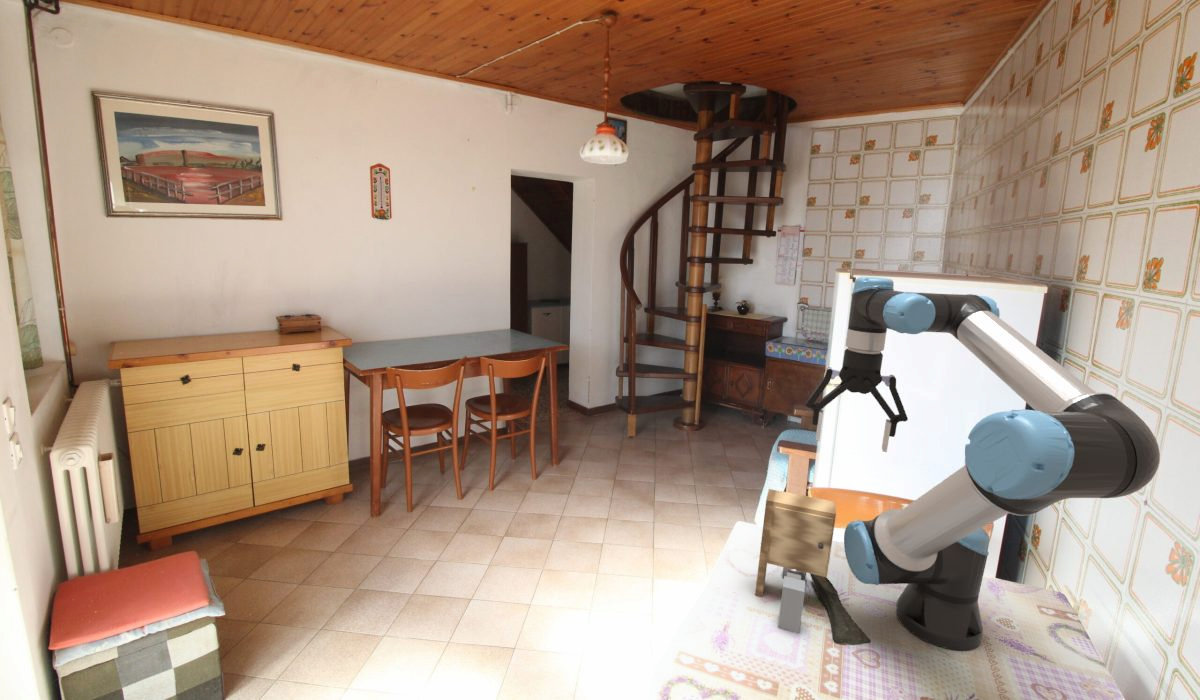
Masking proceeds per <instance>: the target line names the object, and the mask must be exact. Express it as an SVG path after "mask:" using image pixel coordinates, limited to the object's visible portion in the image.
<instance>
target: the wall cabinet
mask: <svg viewBox="0 0 1200 700" xmlns="http://www.w3.org/2000/svg"><path fill="white" fill-rule="evenodd" d="M767 491H768V492H767V496H766V500H765V508H764V516H763V523H762V531H761V543H760V550H759V557H758V558H759V560H758V567H757V576H756V585H755V593H754V596H758V597H762V598H763V594H764V588H765V583H766V577H767V576H766V575H767V569H768V564H769V565H774V566H776V567H781V568H783V567H785V568H789V569H793V570H798V571H802V572H806V574H814V575H819V576H823V577H826V578H828V571H829V565H830V559H831V558H830V557H831V553H832V552H831V550H832V544H833V537H834V531H835V523H836V516H837V509H836V508H837V507H836V506H837V505H836V501H832V500H827V499H824V498H823V499H821V498H818V497H817V498H816V497H811V496H807V495H801V494H797V493H793V492H787V491H782V490H777V489H770V488H768V490H767Z"/></svg>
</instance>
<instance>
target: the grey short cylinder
mask: <svg viewBox="0 0 1200 700" xmlns="http://www.w3.org/2000/svg"><path fill="white" fill-rule="evenodd" d="M787 572H789V573H793V574H797V575H801V580H803V581H805V582H806V577H807V573H806V572H802V571H798V570H793V569H789V568H785V567H782V574H781V577H782V579H783V580H784V576H787Z"/></svg>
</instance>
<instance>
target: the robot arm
mask: <svg viewBox="0 0 1200 700" xmlns="http://www.w3.org/2000/svg"><path fill="white" fill-rule="evenodd" d="M894 286H895V285H894V281H893V279H891V278H888V277H887V278H886V277H876V276H858V277H857V278H856V279H855V280H854V285H853V289H852V293H851V299H850V300H851V302H850V309H849V316H848V327H847V332H846V339H845V347H846V349H845V350H844V352H843V353H844V354H843V359H842V360H843V361H842V367H841V369H840V370H839V369H834V368H833V367H831V366H828V367H827V368H826V370H825V375H824V377H823V378H822V379H821V381H820V382H819V384H817V386H816V388H815V389H814V390H813V392H812V393H811V394H810V396H809V397H808V398H807V400H806V403H805V406H806V407H807V408H809V409H811V410H812V411H813V413H812V421H811V422H812V425H813V426H817V427H816V432H815V433H816V434H815V441H817V442H820V437H821V431H822V423H823V415H824V410H823V409H824V408H825V407H826V406H827V405H828V404H829V403H831V402H832V401H834V400H835V399H836V398H837V397H839V396H840V395H841V394H843V393H844V392H846V391H848V392H850V393H854V394H855V393H859V394H861V395H862V394H863V395H866V394H869V393H870V394H871V395H872V396H873V398H874V399H875V400H876V401H877V403H878V404H879V406H880V407H881V408H882V410H883V411H884V413H885V414H886V416H887V417H888V418H889V419H887V418H885V425H884V432H883V438H882V445H881V450H882V452H885V453H887V452H888V446H889V440H890V437H892V438H894V437H895V436H896V434H897V433H896V431H897V425H898V423H899V422H907V421H908V420H909V418H908V415H907V413H906V411H905V408H904V405H903V402H902V400H901V397H900V394H899V391H898V389H897V378H896V376H895V375H894V374H890V375H881V370H882V364H883V357H884V354H883V353H882V352H883V351H884V350H885V345H886V338H887V331H888V330H892V331H894V332H897V333H899V334H908V335H918V334H921V333H942V334H943V333H944V334H950V335H952V336H953V337H954V339H957V341H958V342H960V343H961V344H962V345H963V346H964V347H965V348H966V349H967V350H968V351H969V352H971V353H972V354H973V355H974V356H975V357H976V358H977V359H978V360H979V361H980V362H981V363H983V364H984V365H985V366H986V367H987V368H988V369H989V370H990V371H992V372H993V373H994V374H995V376H997V377H998V378H999V379H1000V380H1001V381H1002V382H1004V383H1005V384H1006V385H1007V386H1008V387H1009V388H1010V389H1011V390H1012V391H1013V392H1014V393H1015V394H1016V395H1018V397H1020V398H1021V399H1022V400H1023V401H1024V402H1025V403H1026V404H1027V405H1028V406H1029V407H1031V408H1032V409H1018V410H1017V409H1011V410H1009V411H1007V410H1006V411H1005V410H1004V411H999V412H995V413H991V414H989V415H987V416H985V417H983V418H982V419H980V420H979V421H978V422H977V423H976V424H975V425H974V426H973V427H972V429H971V430H970V432H969V434H968V436H967V438H968V440H969V443H966V444H965V446H964V465H963V466H962V467H960V468H959V469H958V470H956V471H955V472H952V474H950V475H949V476H948V477H946V478H944V480H942V481H941V482H939V483H938V484H936V485H935V486H933V487H932V488H931V489H929V490H928V491H926V492H925V493H924V494H922V495H921V496H919V497H918V498H917V499H915V500H914V501H912V502H911V503H909V504H908V505H907V506H905V507H904V508H890V509H887V510H885V511H884V510H883V512H881V513H879V514H878V515H877V516H875V517H874V518H873V519H870V520H862V519H858V520H853V521H850V522H849V523H848V524H847V525H846V527H845V530H844V535H843V547H844V553H845V557H846V561H847V564H848V566H849V568H850V570H851V573H852V575H853V576H854V577H855V578H856V580H857V581H859V582H860V583H862V584H867V585H868V584H869V585H874V586H879V585H897V584H899V585H900V584H902V585H904V584H907V585H906V586H905V588H904V589H903V591H902V593H901V594H900V595H899V597H898V599H897V601H896V608H895V615H896V618H897V620H898V621H899V622H900V624H901V625H902V626H903V627H904V628H905V629H906V630H907V631H909V632H910V633H912V634H913V635H914V636H915V637H918V638H919V639H921V640H924V641H925V642H927V643H930V644H932V645H935V646H938V647H941V648H945V649H949V650H956V651H968V650H972V649H975V648H977V647H979V646H980V644H981V642H982V638H983V633H984V632H983V630H984V629H983V623H982V617H981V612H980V608H979V607H980V606H979V602H978V601H979V596H980V591H981V586H982V582H983V579H984V578H983V577H984V573H985V570H986V565H987V559H988V556H989V546H990V545H989V543H990V536H989V534H988V533H987V531H986V530H985V529H984V528H985V527H986V526H988V525H990V524H992V523H994V522H995V521H998V520H999V519H1001V518H1003V517H1005V516H1006V515H1009V514H1011V515H1014V516H1031V515H1034V514H1036V513H1038V512H1040V511H1042V510H1044V509H1046V508H1048V507H1050V506H1052V505H1054V504H1055V503H1056V504H1057V502H1060V501H1063V500H1069V499H1115V498H1122V497H1126V496H1129V495H1132V494H1133V493H1136V492H1138V491H1140V490H1141V489H1143V488H1144V487H1146V486H1147V485H1148V484H1149V483H1150V482H1151V481H1152V480H1153V478H1154V477H1155V475H1156V473H1157V471H1158V468H1159V466H1160V459H1161V457H1160V456H1161V453H1160V448H1159V444H1158V441H1157V438H1156V436H1155V435H1154V433H1153V431H1152V430H1151V429H1150V427H1149V426H1148V425H1147V423H1146V422H1145V421H1144V420H1143V419H1142V418H1141V417H1140V416H1139V415H1138V414H1137V413H1136V412H1134V410H1132V409H1131V408H1130V407H1129V406H1127V405H1126V404H1124V403H1123V402H1122V401H1121V400H1119V399H1118V398H1117V397H1115V396H1113V395H1112V394H1110V393H1109V392H1108V393H1107V392H1096V391H1095V390H1093V389H1092V388H1091V387H1090V386H1088V385H1087V384H1086V383H1085V382H1084V381H1082V380H1081V379H1079V378H1078V377H1077V376H1075V375H1074V374H1073V373H1072V372H1070V371H1069V370H1068V369H1066V368H1065V367H1064V366H1063V365H1061V364H1060V363H1058V362H1057V361H1056V360H1055V359H1053V358H1052V357H1051V356H1049V355H1048V354H1047V353H1045V352H1044V351H1043V350H1042V349H1040V348H1039V347H1038V346H1037V345H1036V344H1034V343H1033V342H1032V341H1030V340H1029V339H1027V338H1026V337H1025V336H1023V334H1021V333H1020V332H1019V331H1017V330H1015V328H1013V327H1012V326H1011V325H1009V324H1008V323H1006V321H1004V320H1002V318H1001V317H1000V315H1001V314H1000V308H999V307H997V302H996V301H995V300H994V299H993V298H991V297H989V296H985V295H984V296H983V295H978V294H971V293H968V294H967V293H966V294H957V293H956V294H955V293H952V294H951V293H934V292H933V293H931V292H912V291H911V292H910V291H900V290H899V291H898V290H895V289H894ZM836 377H838V378H839V379H840V380H841V382H840V383H839V384H838V385H837V386H836V387H835V388H833V389H832V390H831V391H830V392H828V393H827V394H826V395H825V396H824V397H822V398H821V399H820V400H819V401H818V402H817V403H816V401H817V399H818V398H819V397H820V395H821V394H822V393H823V392H824V390H825V388H827V386H828V385H829V383H831V382H830V381H831V380H834V379H835V378H836ZM882 382H883V383H884V385H885V386H886V387H888V388H889V391H890V394H891V396H892V399H893V402H894V404H895V407H896V409H897V412H898V414H895V412H894V411H893V410H892V408H891V407H890V405H889V404H888V403H887V401H886V400H885V398H884V397H883V396H882V394H881V393H880V392H879V390H878V388H877V386H878V385H880V384H881V383H882Z"/></svg>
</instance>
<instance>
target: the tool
mask: <svg viewBox="0 0 1200 700" xmlns="http://www.w3.org/2000/svg"><path fill="white" fill-rule="evenodd" d="M809 574H810V573H809ZM809 576H810V578H811V580H812V583H813V587H814V589H815V592H816V593H817V595H818V598H819V600H820V602H821V603H822V604H823V605H825V607H826V608H827V611H828V613H829V620H830V624H831V625H830V626H831V634H832V640H833V641H834V642H836V643H837V644H839V645H840V646H860V645H866V644H867V645H868V644H872V643H873V642H872V639H870V637H869V636H868V635H867V634H866V632H864V631H863V630H862V628H860V627H859V625H858V624H857V623H856V622H855V620H854V619H853V618H852V616H851V615H850V613H849V612H848V611H847V610H846V608H845V606H844V605H843V603H842V600H841V598H840V596H839V593H838V590H837V589H836V587H835V586H834V585H833V582H831V580H829V577H823V576H819V575H814V574H810V575H809Z"/></svg>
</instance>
